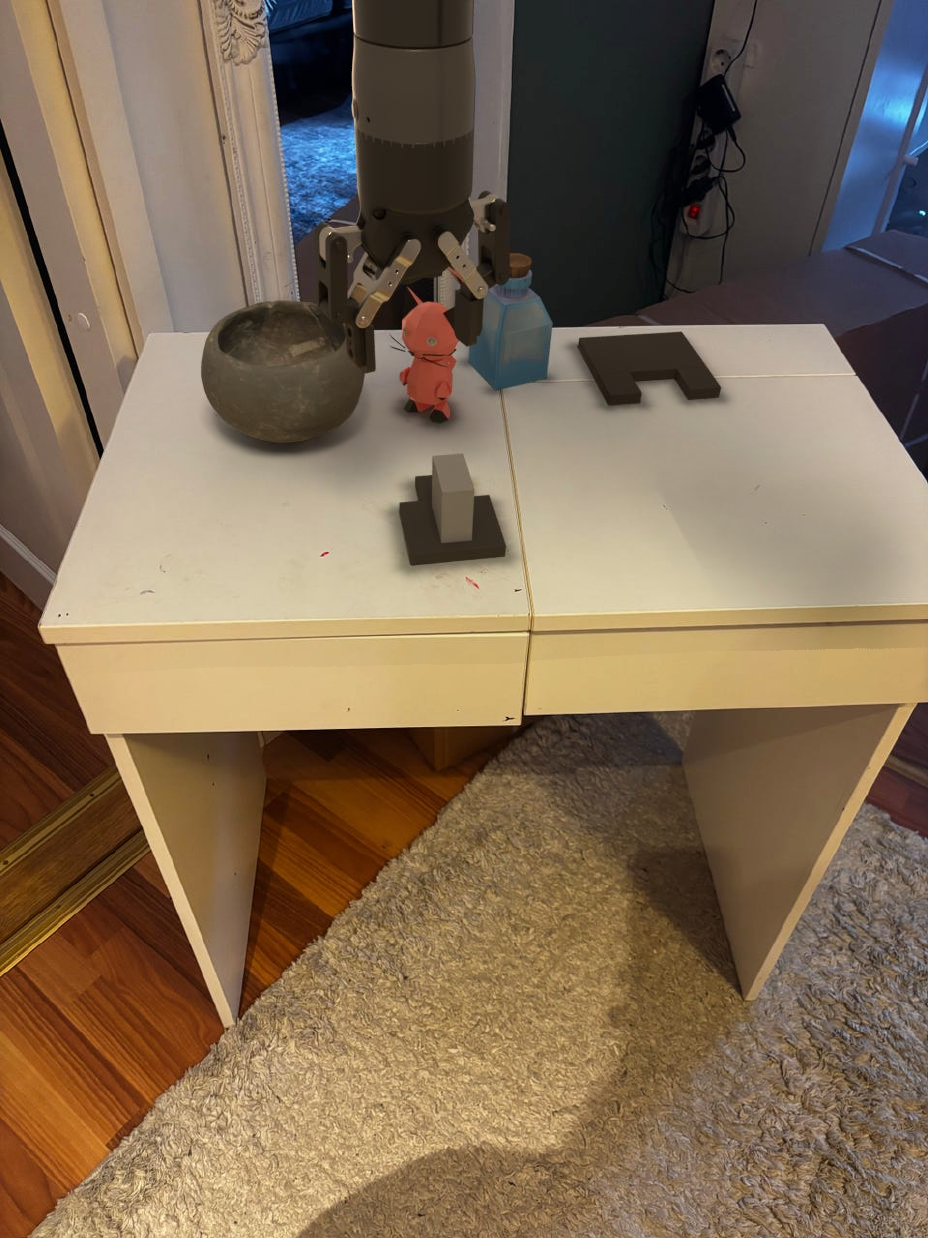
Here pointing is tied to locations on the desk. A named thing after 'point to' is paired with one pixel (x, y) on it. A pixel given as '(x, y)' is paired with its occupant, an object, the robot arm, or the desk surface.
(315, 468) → the desk surface
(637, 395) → the notch pad
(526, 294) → the perfume bottle
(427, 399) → the cat figurine
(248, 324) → the bowl
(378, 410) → the desk surface
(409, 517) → the tab pad
